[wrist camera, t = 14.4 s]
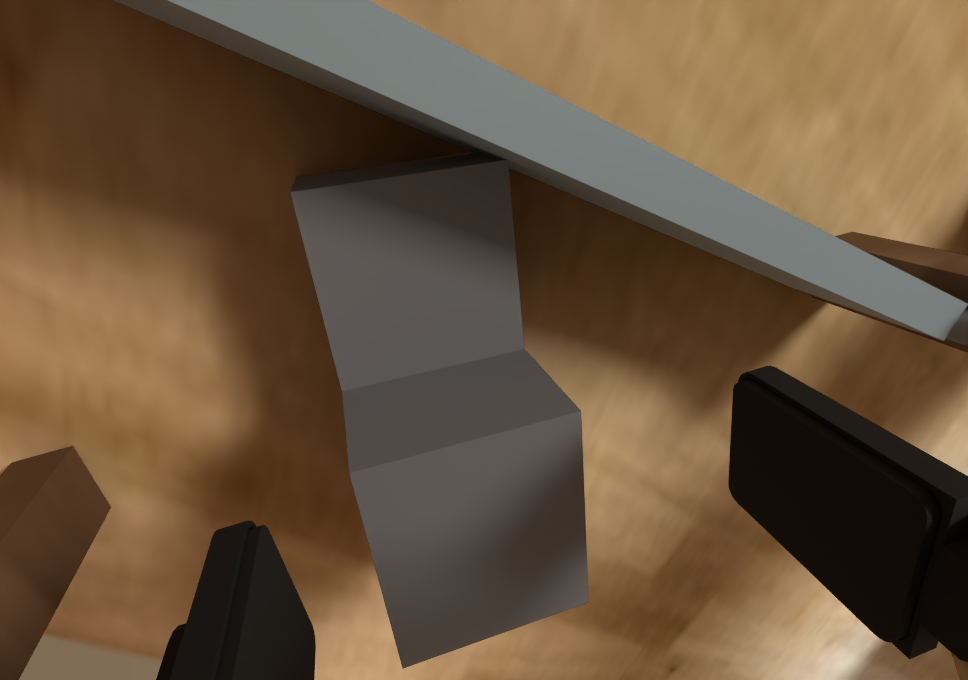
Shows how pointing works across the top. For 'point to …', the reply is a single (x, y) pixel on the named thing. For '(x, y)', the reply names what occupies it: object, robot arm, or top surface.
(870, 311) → the grey long flat board
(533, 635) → the top surface
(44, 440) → the top surface
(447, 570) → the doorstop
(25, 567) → the frame
